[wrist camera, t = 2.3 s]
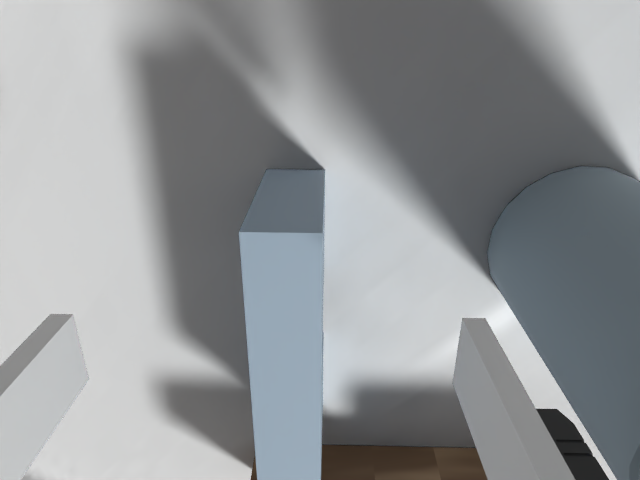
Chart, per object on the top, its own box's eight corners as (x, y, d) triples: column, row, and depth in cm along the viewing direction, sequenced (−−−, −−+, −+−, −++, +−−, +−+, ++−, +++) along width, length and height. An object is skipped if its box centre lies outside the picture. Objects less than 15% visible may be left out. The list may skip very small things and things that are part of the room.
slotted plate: (266, 169, 24) (238, 232, 17) (324, 169, 24) (322, 233, 17) (277, 405, 31) (260, 523, 24) (322, 406, 31) (320, 524, 23)
